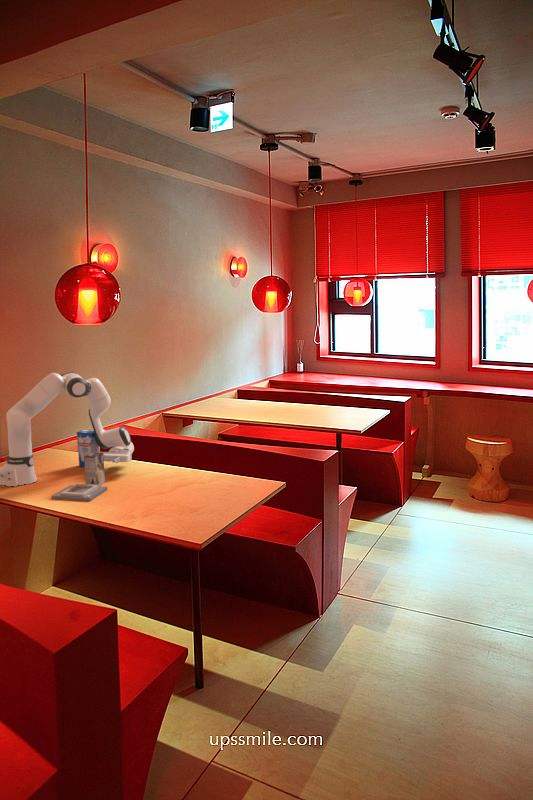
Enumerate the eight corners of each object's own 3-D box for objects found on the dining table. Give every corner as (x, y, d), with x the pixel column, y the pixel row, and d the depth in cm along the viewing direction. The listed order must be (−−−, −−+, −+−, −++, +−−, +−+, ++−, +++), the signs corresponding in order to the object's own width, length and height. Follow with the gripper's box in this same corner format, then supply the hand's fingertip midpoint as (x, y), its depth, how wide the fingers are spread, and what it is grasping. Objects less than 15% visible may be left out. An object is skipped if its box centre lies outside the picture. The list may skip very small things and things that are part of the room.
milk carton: (79, 466, 349) (76, 432, 346) (85, 463, 355) (83, 430, 352) (94, 467, 346) (91, 432, 343) (100, 464, 352) (98, 430, 349)
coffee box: (93, 481, 320) (92, 451, 317) (105, 482, 319) (103, 452, 316) (85, 486, 311) (83, 456, 308) (97, 487, 310) (95, 456, 307)
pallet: (51, 498, 293) (51, 493, 292) (70, 487, 310) (70, 482, 310) (90, 501, 289) (90, 495, 288) (107, 489, 306) (107, 484, 306)
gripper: (99, 448, 340) (87, 454, 327) (133, 449, 336) (122, 455, 323) (99, 459, 341) (87, 465, 328) (134, 460, 337) (123, 467, 324)
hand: (105, 460), depth 325 cm, fingers open, 8 cm apart
